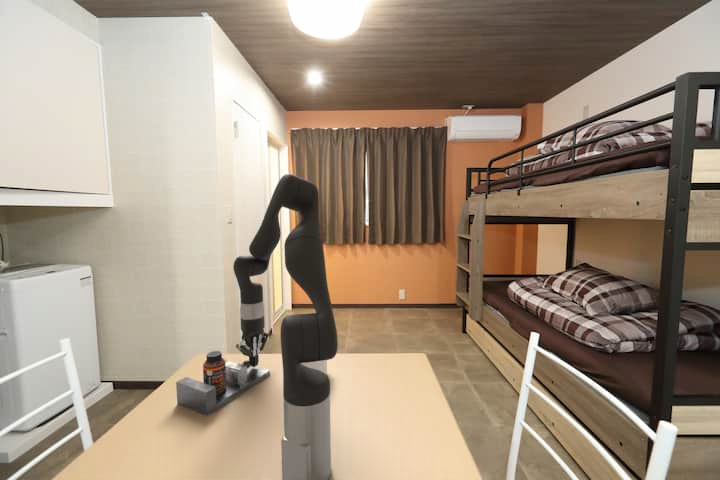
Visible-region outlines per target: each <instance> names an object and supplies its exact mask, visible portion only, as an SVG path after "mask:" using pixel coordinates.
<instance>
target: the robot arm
mask: <svg viewBox="0 0 720 480" xmlns="http://www.w3.org/2000/svg"><path fill="white" fill-rule="evenodd" d="M319 200H320V197H319V189H318V187H317V185H316V184H314V183H313V182H312V181H309V180H307V179H304V178H302V177H300V176H297V175H294V174H291V173H285V174H283V176H281V177H280V179H279V180H278V182H277V184H276V186H275V188H274V191H273V194H272V195H271V198H270V201H269V203H268V206H267V208H266V211H265V213H264V217H263V219H262V222H261V225H260V227H259V228H258V230H257V232H256V234H255V236H254V237H253V239H252V241H251V242H250V244H249V246H248V251H249V254H246V255H244V254H243V255H240V256H238V257H236V258H235V260H234V262H233V272H234V275H235V278H236V281H237V284H238V287H239V291H240V293H239V295H240V307H239V308H240V309H239V312H240V313H239V314H240V315H239V316H240V330H241V332H242V336H241V341H240V342H239V343H236V345H235V348H236V349H237V350H238V351H239V352H241V354H242V355H243V356H246V357H248V361H250V363H251V365H250V366H252V367H258V366H259V362H260V359H259V355H260V352H261V351H263V350H264V348H265V346H266V343H267V341H268V339H269V336H270V333H269V332H266V331H265V327H266V326H265V325H266V324H265V322H266V321H265V304H264V291H263V289H264V288H263V285H262V284H261V283H260V282H256V281H255V282H252V280H251V277H255V276H260V275H263V274H264V273H265V272H267V271H268V268H269V265H270V260H271V256H272V254H273V253H274V251H275V249H276V247H278V245H279V242H280V239H281V235H282V234H281V225H280V219H279V215H280V211H281V209H282V208H285V209H289V210H291V211H294V212H298V213H299V214H300V217H301V219H300V222H299V223H298V224H297V225H296V226H295V227H294V228H293V229H292V230H291V231H290V233H289V234H288V235H287V237H286V239H285V241H284V247H283V248H284V264H285V268H286V271H287V273H288V274H289V276H290V277H291V278H292V280H293V281H294V282H295V283H296V284H297V285H298V286H299V288H301V289H302V291H304V293H305V295H306V296H307V297H308V298H309V299H310V302H311V303H312V306H313V308H314V311H315V312H311V313H299V314H290V315H289V314H288V315H286V316H284V317H283V318H282V321H281V324H280V349H281V350H280V351H281V358H282V359H281V361H282V374H283V375H282V377H283V379H282V380H283V383H282V385H283V387H282V388H283V390H282V391H283V393H282V394H283V432H284V435H283V437H282V438H281V441H280V443H281V444H280V446H281V477H282V478H281V480H330V479H331V474H332V455H331V454H332V450H331V449H332V447H331V446H332V445H331V439H332V437H331V435H332V434H331V382H330V378H329V376H328V374H327V375H326V374H325V373H324V372H322V371H319V370H316V369H312V368H309V367H306V366H304V365H302V364H301V363H307V362H316V361H323V360H327V361H328V360H332V359H334V358H335V356H336V354H337V353H338V346H339V343H338V342H339V340H338V332H337V331H338V330H337V326H336V321H335V315H334V311H333V307H332V301H331V296H330V292H329V288H328V287H329V286H328V279H327V270H326V259H325V251H324V244H323V239H322V234H321V224H320V223H321V222H320V201H319Z"/></svg>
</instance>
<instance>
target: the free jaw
mask: <svg viewBox="0 0 720 480" xmlns="http://www.w3.org/2000/svg"><path fill="white" fill-rule="evenodd" d="M224 360H225V365H226V382H229V383H232V384H235V385H238V386H240V385H242V384H244V383H245V382H247V369H248V368H249V367H250V365H251V363H250V361H249V360H244V361H243V362H242V363H243V364H242V363H238V362H234V361H231V360H226V359H224Z"/></svg>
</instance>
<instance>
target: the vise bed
mask: <svg viewBox="0 0 720 480" xmlns="http://www.w3.org/2000/svg"><path fill="white" fill-rule="evenodd" d="M241 364H243V362H242V363H241ZM270 375H271V371H270V369H266V368H264V367H262V368H261V367H258V366H255V367H252V366H250V367H249V368H248V369H247V382H245V383H244V384H242V385H240V386H238V385H235V384H232V383H229V382H226V389H225V391H224V392H222V393H221V394H218V395H216V387H215V386H212V385H209V384H206V383H204V381H203V382H202V381H200V380H196V379H193V378H190V377H187V376H185V377H183V378H181V379H179V380H177V381H175V384H176V385H175V386H176V403H177V405H178V406H181V407H183V408H185V409H189V410H190V411H193V412H196V413H199V414H201V415H204V416H206V417H207V416H209V415H211V414H212V413H214V412H215V411H217V410H218V409H220V408H222V407H223V406H225V405H226V404H228V403H229V402H231V401H232V400H234V399H235V398H237V397H238V396H240V395H241V394H243V393H244V392H246V391H247V390H249V389H250V388H252V387H254V386H255V385H257V384H258V383H260V382H261V381H263V380H264V379H266V378H267V377H268V376H270Z"/></svg>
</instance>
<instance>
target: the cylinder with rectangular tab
mask: <svg viewBox="0 0 720 480" xmlns="http://www.w3.org/2000/svg"><path fill="white" fill-rule="evenodd" d="M301 364H302V365H304V366H306V367H309V368H312V369H316V370H319V371H322V372H324V373H325V374H326V375H327V376H328V368H327V367H328V360H323V361H316V362H307V363H301Z"/></svg>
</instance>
